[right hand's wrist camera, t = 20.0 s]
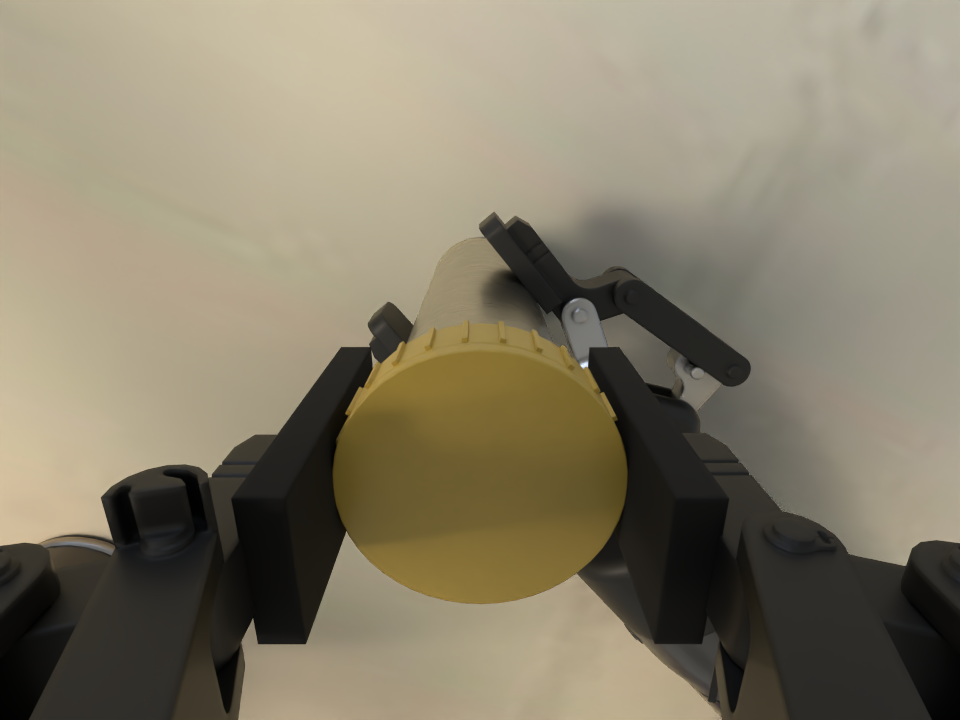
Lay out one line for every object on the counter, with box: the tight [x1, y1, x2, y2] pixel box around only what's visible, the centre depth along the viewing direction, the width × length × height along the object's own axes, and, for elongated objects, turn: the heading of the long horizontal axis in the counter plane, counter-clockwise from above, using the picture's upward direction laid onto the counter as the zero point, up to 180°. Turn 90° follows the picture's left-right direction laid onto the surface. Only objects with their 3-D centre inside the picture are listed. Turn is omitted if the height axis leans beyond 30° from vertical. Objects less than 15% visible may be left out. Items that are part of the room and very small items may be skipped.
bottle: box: [407, 238, 554, 344], centre depth 19 cm, size 4×4×17 cm
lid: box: [332, 320, 628, 604], centre depth 11 cm, size 6×6×2 cm
